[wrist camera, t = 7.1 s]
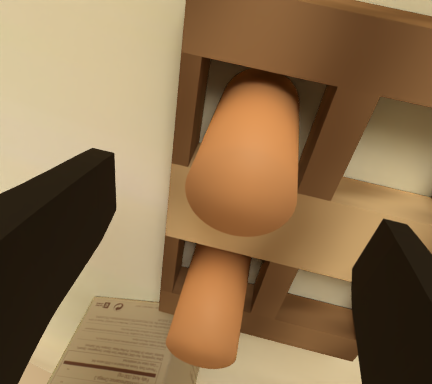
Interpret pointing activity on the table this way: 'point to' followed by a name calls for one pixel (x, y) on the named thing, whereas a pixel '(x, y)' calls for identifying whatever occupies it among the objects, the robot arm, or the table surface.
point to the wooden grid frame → (312, 154)
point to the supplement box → (122, 347)
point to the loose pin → (248, 157)
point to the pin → (210, 309)
